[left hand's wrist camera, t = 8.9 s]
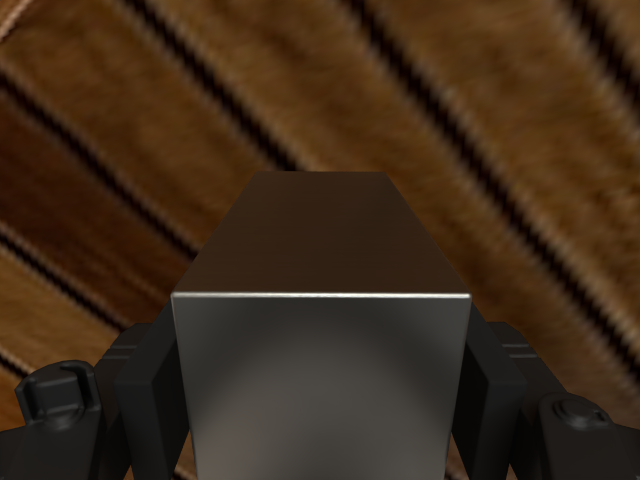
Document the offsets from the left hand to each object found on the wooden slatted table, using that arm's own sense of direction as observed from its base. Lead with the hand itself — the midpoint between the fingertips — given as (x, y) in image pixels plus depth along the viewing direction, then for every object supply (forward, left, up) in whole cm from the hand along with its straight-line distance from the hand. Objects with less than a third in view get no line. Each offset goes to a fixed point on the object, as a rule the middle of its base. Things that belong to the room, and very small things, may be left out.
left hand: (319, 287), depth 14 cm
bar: (-6, +6, -1) cm, 9 cm away
